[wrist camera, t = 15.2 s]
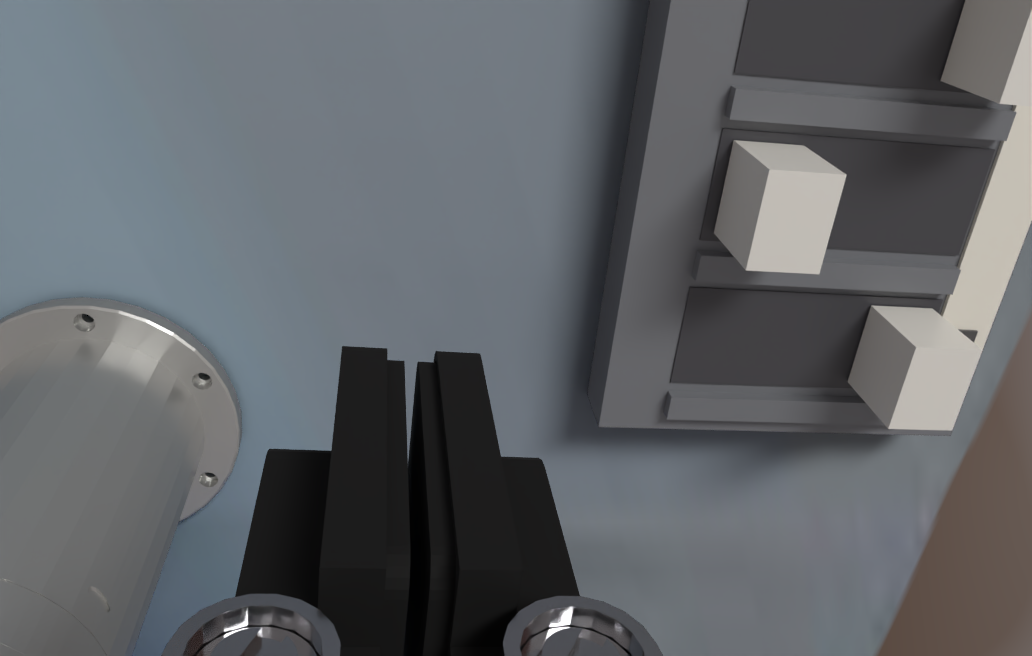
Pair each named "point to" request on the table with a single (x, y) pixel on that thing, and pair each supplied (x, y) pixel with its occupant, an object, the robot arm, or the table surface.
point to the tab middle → (778, 207)
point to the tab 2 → (993, 51)
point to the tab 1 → (913, 368)
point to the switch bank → (857, 225)
